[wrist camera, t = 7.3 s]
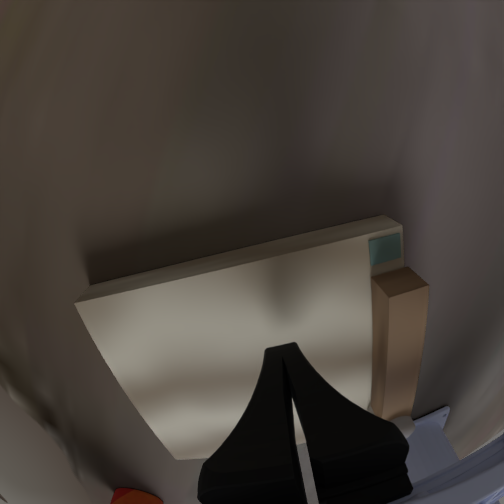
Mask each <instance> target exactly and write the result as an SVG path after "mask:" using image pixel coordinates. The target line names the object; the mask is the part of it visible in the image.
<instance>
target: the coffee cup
mask: <svg viewBox="0 0 504 504" xmlns="http://www.w3.org/2000/svg"><path fill="white" fill-rule="evenodd" d="M110 504H163V501H162V500H161V499H160V498H158V497H156V496H154V495H152V494H150V493H147V492H144V491H140V490H136V489H131V488H117V489H116V490H115V492H114V495H113V498H112V500H111V503H110Z"/></svg>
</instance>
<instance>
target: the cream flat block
mask: <svg viewBox="0 0 504 504" xmlns="http://www.w3.org/2000/svg"><path fill="white" fill-rule="evenodd" d="M401 268H404V245H403V227H402V225H401V224H399V223H398V222H396V221H394V220H392V219H391V218H389V217H387V216H386V215H379V216H375V217H371V218H367V219H362V220H358V221H354V222H350V223H345V224H341V225H337V226H333V227H328V228H324V229H320V230H316V231H311V232H307V233H303V234H299V235H295V236H290V237H286V238H282V239H278V240H274V241H270V242H265V243H261V244H257V245H253V246H249V247H245V248H240V249H236V250H232V251H228V252H224V253H220V254H216V255H212V256H207V257H203V258H199V259H195V260H191V261H187V262H183V263H179V264H175V265H171V266H166V267H162V268H158V269H154V270H150V271H146V272H142V273H138V274H134V275H130V276H126V277H122V278H118V279H114V280H110V281H106V282H102V283H98V284H94V285H90V286H89V287H88V288H87V289H86V290H85V291H84V292H83V294H82V295H81V296H80V297H79V298H78V299H77V301H76V302H75V303H74V304H75V306H76V308H77V310H78V312H79V314H80V316H81V318H82V320H83V322H84V324H85V326H86V327H87V329H88V331H89V333H90V335H91V337H92V339H93V340H94V342H95V344H96V346H97V347H98V349H99V351H100V353H101V354H102V356H103V358H104V359H105V361H106V363H107V364H108V366H109V368H110V369H111V371H112V373H113V374H114V376H115V377H116V379H117V381H118V382H119V384H120V385H121V387H122V388H123V390H124V391H125V393H126V394H127V396H128V397H129V399H130V400H131V402H132V403H133V404H134V406H135V407H136V409H137V410H138V412H139V413H140V414H141V416H142V417H143V418H144V420H145V421H146V422H147V424H148V425H149V426H150V428H151V429H152V430H153V432H154V433H155V434H156V436H157V437H158V438H159V439H160V441H161V442H162V443H163V444H164V446H165V447H166V448H167V449H168V451H169V452H170V453H171V454H172V455H173V457H174V458H175V459H176V460H181V459H199V458H209V457H210V456H211V455H212V454H213V453H214V452H215V451H216V450H217V449H218V448H219V447H220V446H221V445H222V443H223V442H224V441H225V440H226V438H227V437H228V436H229V434H230V433H231V432H232V430H233V429H234V428H235V426H236V425H237V423H238V421H239V420H240V418H241V416H242V415H243V413H244V411H245V409H246V407H247V405H248V403H249V401H250V399H251V397H252V394H253V392H254V389H255V387H256V384H257V381H258V378H259V375H260V372H261V368H262V364H263V359H264V350H265V349H266V348H269V347H274V346H278V345H283V344H287V343H291V342H296V343H297V344H298V346H299V348H300V350H301V352H302V353H303V355H304V356H305V357H306V359H307V360H308V361H309V363H310V364H311V365H312V366H313V367H314V369H315V370H316V371H317V372H318V373H319V374H320V375H321V376H322V377H323V378H324V379H325V380H326V381H327V382H328V383H329V384H330V385H331V386H332V387H333V388H334V389H336V390H337V391H338V392H339V393H341V394H342V395H343V396H345V397H346V398H347V399H349V400H350V401H352V402H353V403H355V404H356V405H358V406H360V407H361V408H363V409H365V410H366V411H368V408H369V407H370V405H371V387H372V351H373V330H372V293H371V277H372V276H376V275H380V274H383V273H387V272H390V271H394V270H397V269H401ZM292 403H293V415H294V427H295V438H296V445H297V444H302V443H306V440H305V436H304V433H303V430H302V427H301V424H300V420H299V417H298V414H297V411H296V408H295V405H294V402H293V399H292Z"/></svg>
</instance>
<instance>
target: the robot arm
mask: <svg viewBox="0 0 504 504" xmlns="http://www.w3.org/2000/svg"><path fill="white" fill-rule="evenodd" d="M292 399H293V402H294V405H295V408H296V411H297V414H298V417H299V420H300V424H301V427H302V430H303V433H304V436H305V440H306V443H307V448H308V453H309V457H310V462H311V467H312V472H313V477H314V482H315V487H316V491H317V496H318V501H319V504H500V503H499V501H498V500H499V499H500V498H501V497H503V496H504V433H503V435H501V436H500V437H498V438H497V439H495V440H494V441H492V442H491V443H489V444H487V445H486V446H484V447H483V448H481V449H479V450H477V451H476V452H474V453H472V454H471V455H469V456H467V457H465V458H464V459H462V460H459V458H458V456H457V455H456V453H455V451H454V449H453V447H452V446H451V444H450V442H449V440H448V438H447V437H446V435H445V433H444V431H443V427H444V425H445V422H446V420H447V417H448V414H449V411H450V408H449V407H448V406H446V407H444V408H441V409H439V410H437V411H435V412H433V413H431V414H428V415H426V416H424V417H422V418H419V419H417V420H415V421H413V422H414V424H415V430H414V432H413V433H412V434H411V435H410V436H409V437H408V438H405V436H404V435H403V433H402V432H401V431H400V429H399V428H398V427H397V426H396V425H395V424H394V423H392V422H390V421H387V420H385V419H383V418H380V417H378V416H376V415H374V414H372V413H370V412H368V411H366V410H365V409H363V408H361V407H360V406H358V405H356V404H355V403H353V402H352V401H350V400H349V399H347V398H346V397H345V396H343V395H342V394H341V393H339V392H338V391H337V390H336V389H334V388H333V387H332V386H331V385H330V384H329V383H328V382H327V381H326V380H325V379H324V378H323V377H322V376H321V375H320V374H319V373H318V372H317V371H316V370H315V369H314V367H313V366H312V365H311V364H310V363H309V361H308V360H307V359H306V357H305V356H304V355H303V353H302V352H301V350H300V348H299V346H298V344H297V343H296V342H291V343H287V344H283V345H278V346H274V347H269V348H266V349H265V350H264V359H263V364H262V368H261V372H260V375H259V378H258V381H257V384H256V387H255V389H254V392H253V394H252V397H251V399H250V401H249V403H248V405H247V407H246V409H245V411H244V413H243V415H242V416H241V418H240V420H239V421H238V423H237V425H236V426H235V428H234V429H233V430H232V432H231V433H230V434H229V436H228V437H227V438H226V440H225V441H224V442H223V443H222V445H221V446H220V447H219V448H218V449H217V450H216V451H215V452H214V453H213V454H212V455H211V456H210V457H209V458H208V459H207V460H206V461H205V462H204V463H203V465H202V469H201V472H200V476H199V481H198V495H197V498H198V500H199V501H200V502H201V503H202V504H308V503H307V498H306V493H305V488H304V483H303V477H302V472H301V467H300V462H299V457H298V451H297V446H296V438H295V427H294V415H293V403H292Z"/></svg>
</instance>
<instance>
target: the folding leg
mask: <svg viewBox="0 0 504 504" xmlns="http://www.w3.org/2000/svg"><path fill="white" fill-rule="evenodd" d="M371 293H372V330H373V351H372V387H371V405H370V407H369V408H368V412H370V413H372V414H374V415H376V416H378V417H380V418H383V419H385V420H387V421H390V422H392V423H394V424H395V425H396V426H397V427H398V428H399V429H400V431H401V432H402V433H403V435H404V436H405V438H408V437H409V436H410V435H411V434H412V433H413V432H414V430H415V424H414V422H413V420H412V418H411V412H412V408H413V403H414V398H415V394H416V389H417V383H418V378H419V372H420V366H421V360H422V353H423V346H424V339H425V330H426V321H427V310H428V297H429V284H427V283H426V282H425V281H424V280H423V279H422V278H421V277H419V276H418V275H417V274H416V273H415V272H414V271H413V270H411V269H410V268H409V267H404V268H401V269H397V270H394V271H390V272H387V273H383V274H380V275H376V276H372V277H371Z"/></svg>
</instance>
